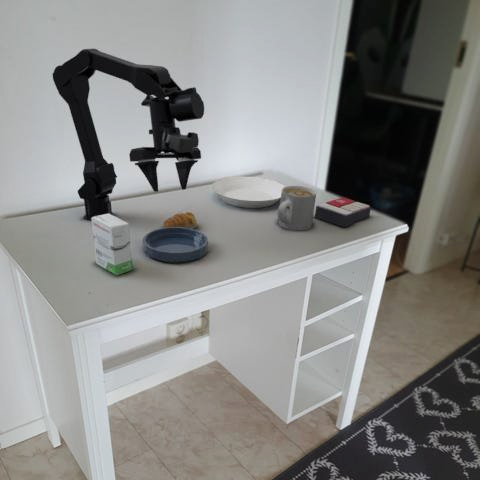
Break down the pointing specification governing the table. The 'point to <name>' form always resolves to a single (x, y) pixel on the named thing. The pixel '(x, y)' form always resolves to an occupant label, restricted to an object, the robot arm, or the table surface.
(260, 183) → the bowl
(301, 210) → the coffee mug
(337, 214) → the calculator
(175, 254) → the glazed bowl
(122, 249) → the ink box
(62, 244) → the table surface
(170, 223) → the pastry
